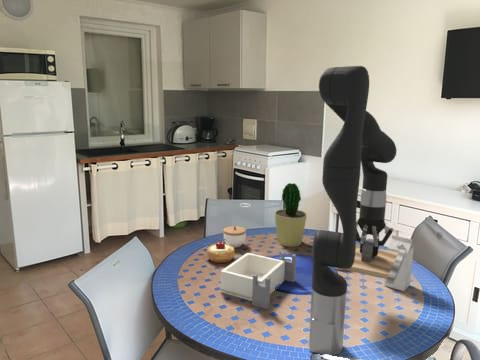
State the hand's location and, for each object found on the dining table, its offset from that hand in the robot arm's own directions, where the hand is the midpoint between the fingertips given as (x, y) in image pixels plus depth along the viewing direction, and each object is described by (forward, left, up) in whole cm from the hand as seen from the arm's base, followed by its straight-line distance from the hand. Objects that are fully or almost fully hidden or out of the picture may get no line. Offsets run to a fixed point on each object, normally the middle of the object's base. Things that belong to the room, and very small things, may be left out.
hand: (368, 255), depth 126 cm
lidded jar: (+29, +66, -19) cm, 75 cm away
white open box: (-4, +37, -19) cm, 42 cm away
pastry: (+12, +63, -19) cm, 67 cm away
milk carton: (+24, -7, -19) cm, 32 cm away
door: (0, 0, -2) cm, 2 cm away
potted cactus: (+46, +45, -19) cm, 67 cm away
